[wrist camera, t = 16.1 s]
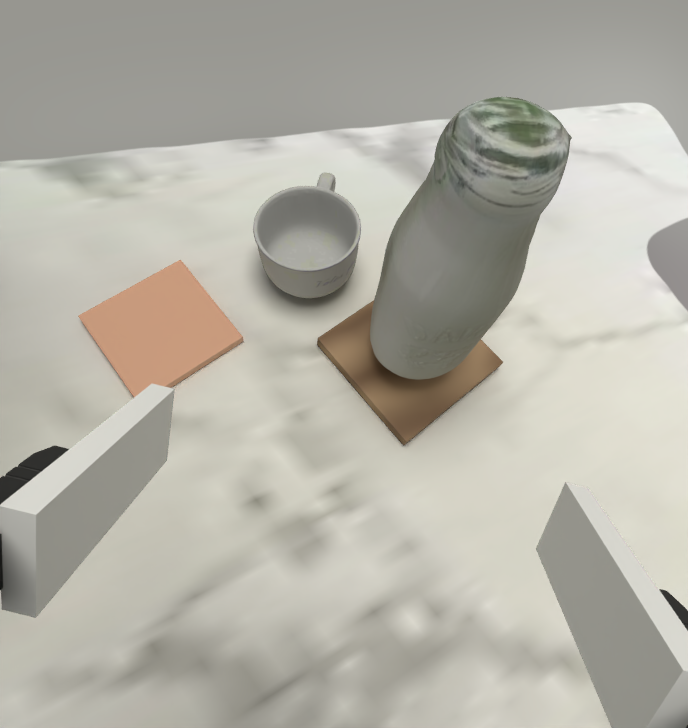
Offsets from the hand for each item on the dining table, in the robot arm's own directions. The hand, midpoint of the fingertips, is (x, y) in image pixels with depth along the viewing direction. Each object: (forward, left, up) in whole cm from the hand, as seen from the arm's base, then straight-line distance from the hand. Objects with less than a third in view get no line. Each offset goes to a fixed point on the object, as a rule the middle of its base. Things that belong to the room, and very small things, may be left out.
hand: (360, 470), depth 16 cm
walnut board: (-9, +19, -31) cm, 37 cm away
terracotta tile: (-27, 0, -31) cm, 41 cm away
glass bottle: (-9, +19, -29) cm, 36 cm away
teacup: (-25, +18, -31) cm, 44 cm away
